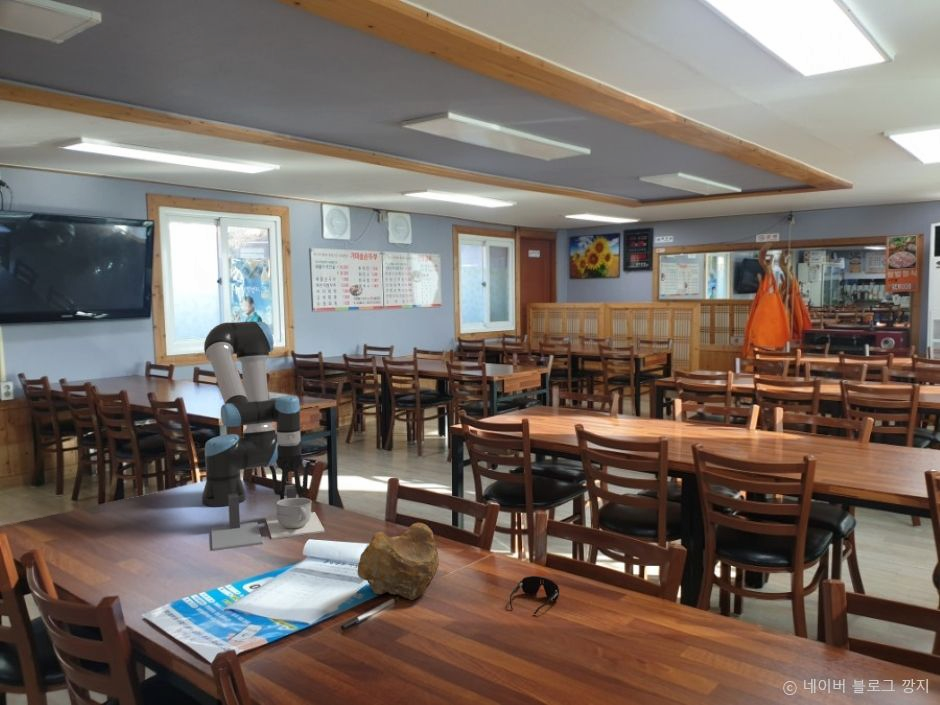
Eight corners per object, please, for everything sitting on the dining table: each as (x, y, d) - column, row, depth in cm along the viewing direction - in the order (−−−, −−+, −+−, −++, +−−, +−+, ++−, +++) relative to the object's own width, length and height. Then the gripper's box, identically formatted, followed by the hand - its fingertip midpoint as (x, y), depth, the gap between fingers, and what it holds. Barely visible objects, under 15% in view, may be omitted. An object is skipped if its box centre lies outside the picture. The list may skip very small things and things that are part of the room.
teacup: (274, 523, 227) (273, 498, 226) (308, 518, 231) (307, 494, 230) (282, 536, 214) (281, 510, 213) (317, 531, 218) (316, 505, 218)
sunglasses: (562, 599, 170) (561, 580, 169) (543, 624, 160) (541, 605, 159) (524, 590, 175) (523, 572, 174) (503, 614, 165) (501, 596, 164)
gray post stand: (211, 528, 224) (209, 495, 223) (256, 522, 229) (255, 490, 228) (212, 550, 205) (210, 515, 204) (262, 543, 210) (261, 509, 209)
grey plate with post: (265, 518, 233) (264, 487, 232) (314, 512, 239) (313, 482, 238) (271, 539, 213) (270, 505, 212) (324, 532, 219) (323, 498, 218)
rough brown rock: (395, 619, 162) (399, 557, 160) (348, 594, 172) (351, 535, 171) (460, 589, 180) (465, 533, 178) (414, 568, 190) (418, 515, 189)
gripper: (264, 448, 224) (267, 519, 226) (315, 443, 230) (317, 513, 232) (262, 443, 231) (265, 513, 233) (312, 439, 237) (314, 507, 239)
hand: (291, 513), depth 232 cm, fingers closed on grey plate with post, 3 cm apart
